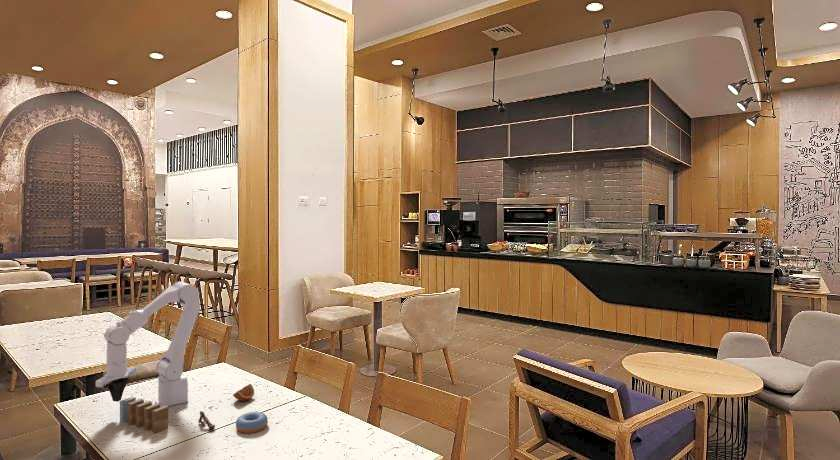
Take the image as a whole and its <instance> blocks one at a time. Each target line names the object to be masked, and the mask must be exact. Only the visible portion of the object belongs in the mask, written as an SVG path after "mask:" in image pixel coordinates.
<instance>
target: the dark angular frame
mask: <svg viewBox="0 0 840 460" xmlns="http://www.w3.org/2000/svg"><path fill="white" fill-rule="evenodd" d="M199 415H200V416H199V418H198V423H199V424H200V425H201V427H203V428H204V427H206V426H207V427H208V431H212V430H215V427H216V424H213V423H211V422H210V420H209V418H208V417H207V416H206V415H205V413H204V410H203V411H201V410H200V411H199Z"/></svg>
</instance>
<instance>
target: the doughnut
mask: <svg viewBox="0 0 840 460" xmlns="http://www.w3.org/2000/svg"><path fill="white" fill-rule="evenodd" d="M268 422H269V421H268V416H267V415H266V414H265V413H263V412H259V411H250V412H245V413H244V414H241V415H240V416H238V418H237V419H236V421H235V428H236V430H237V431H238V432H240V433H244V434H253V433H257V432H260V431H262V430H264V429H265V428H267V425H268Z"/></svg>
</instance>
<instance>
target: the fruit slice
mask: <svg viewBox="0 0 840 460" xmlns="http://www.w3.org/2000/svg"><path fill="white" fill-rule="evenodd" d="M254 395H255V388H254V387H253V385H252V384H251V383H249V384H248V385H245V386H244V387H242V388H241V389H239V390H237V391H236V392H235V393H234V394H232V397H234V398H235V399H236V400H237V401H240V402H245V401H249V400H251V399H252V398H253V397H254Z"/></svg>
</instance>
